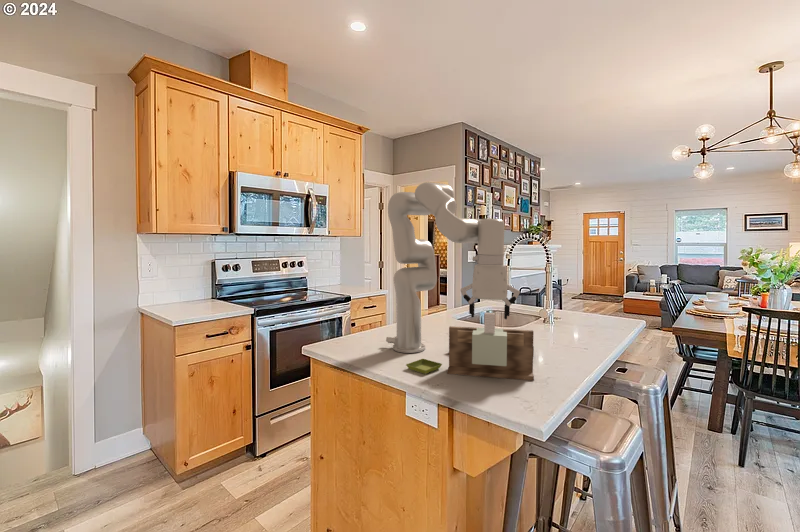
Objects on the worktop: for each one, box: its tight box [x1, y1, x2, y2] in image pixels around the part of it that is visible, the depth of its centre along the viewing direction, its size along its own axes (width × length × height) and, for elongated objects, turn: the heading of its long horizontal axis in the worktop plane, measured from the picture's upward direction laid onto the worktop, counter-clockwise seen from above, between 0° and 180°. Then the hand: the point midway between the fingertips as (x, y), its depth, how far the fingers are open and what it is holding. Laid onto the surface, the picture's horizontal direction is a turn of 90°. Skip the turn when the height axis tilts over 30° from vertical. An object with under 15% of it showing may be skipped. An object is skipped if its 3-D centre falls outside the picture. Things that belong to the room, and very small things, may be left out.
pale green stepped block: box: [472, 312, 507, 366], centre depth 121 cm, size 10×9×15 cm
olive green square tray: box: [405, 358, 443, 375], centre depth 130 cm, size 9×9×2 cm
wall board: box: [446, 325, 535, 381], centre depth 125 cm, size 26×6×14 cm, turn 76°
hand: (489, 317), depth 119 cm, fingers open, 9 cm apart
